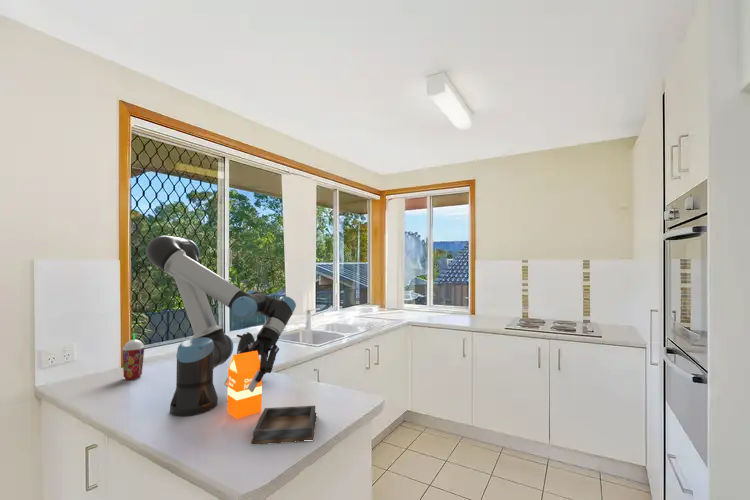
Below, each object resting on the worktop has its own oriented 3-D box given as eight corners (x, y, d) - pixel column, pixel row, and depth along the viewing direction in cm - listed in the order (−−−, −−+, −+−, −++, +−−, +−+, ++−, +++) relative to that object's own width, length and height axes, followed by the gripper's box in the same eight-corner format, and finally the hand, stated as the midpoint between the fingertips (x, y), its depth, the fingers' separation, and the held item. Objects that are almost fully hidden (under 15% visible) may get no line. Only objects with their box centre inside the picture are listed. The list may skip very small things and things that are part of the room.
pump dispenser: (235, 360, 187) (235, 331, 188) (255, 357, 191) (256, 330, 192) (236, 364, 178) (237, 334, 178) (257, 362, 182) (258, 333, 183)
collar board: (251, 445, 97) (251, 432, 97) (263, 418, 114) (263, 407, 114) (313, 441, 99) (313, 428, 99) (316, 415, 116) (316, 405, 116)
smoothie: (148, 375, 160) (149, 331, 161) (134, 381, 152) (135, 335, 153) (131, 375, 161) (132, 331, 162) (116, 380, 153) (118, 335, 154)
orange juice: (227, 412, 119) (228, 352, 120) (251, 404, 125) (252, 348, 126) (236, 419, 113) (237, 357, 114) (262, 411, 119) (262, 352, 120)
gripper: (299, 340, 130) (269, 398, 114) (252, 335, 138) (219, 388, 123) (290, 328, 125) (258, 387, 110) (243, 324, 134) (207, 378, 119)
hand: (238, 388), depth 116 cm, fingers closed on orange juice, 9 cm apart
